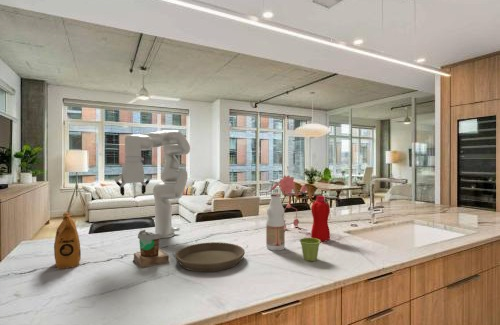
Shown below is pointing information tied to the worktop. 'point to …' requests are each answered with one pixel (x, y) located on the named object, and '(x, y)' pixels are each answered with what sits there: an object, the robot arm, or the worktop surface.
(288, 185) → the figurine
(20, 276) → the worktop surface
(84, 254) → the worktop surface
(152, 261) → the base
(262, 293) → the worktop surface
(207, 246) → the plant saucer
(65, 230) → the coffee package
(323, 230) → the water bottle
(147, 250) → the food container
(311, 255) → the plant pot
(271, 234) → the fruit juice
